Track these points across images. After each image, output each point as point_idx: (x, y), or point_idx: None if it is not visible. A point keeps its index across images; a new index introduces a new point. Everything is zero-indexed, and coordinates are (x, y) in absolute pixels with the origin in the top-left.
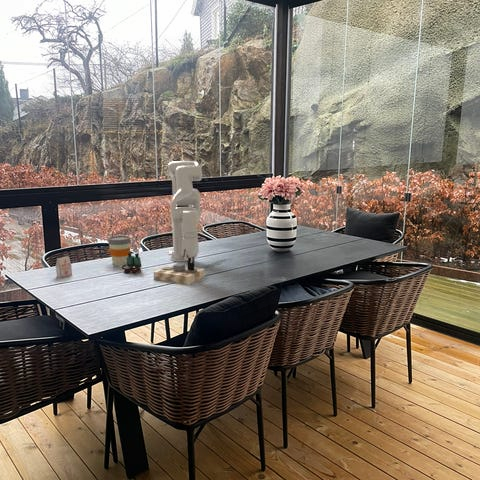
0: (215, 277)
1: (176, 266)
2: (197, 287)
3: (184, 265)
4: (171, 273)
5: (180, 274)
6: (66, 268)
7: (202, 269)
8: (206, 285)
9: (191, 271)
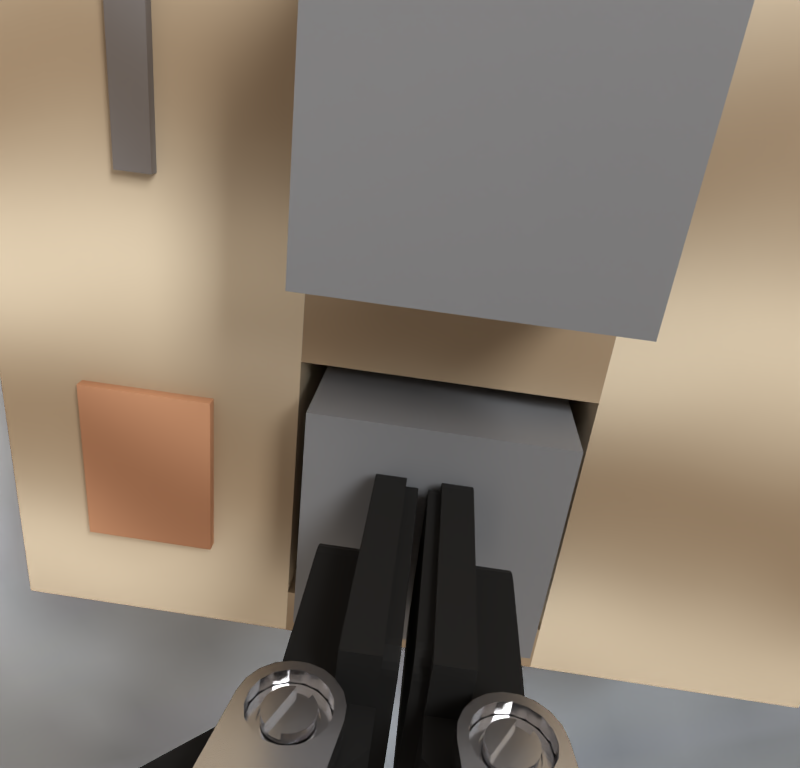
0: (678, 742)
1: (300, 57)
2: (42, 647)
3: (591, 318)
4: (29, 3)
5: (78, 341)
6: None
7: (732, 678)
8: (196, 726)
9: (297, 588)
